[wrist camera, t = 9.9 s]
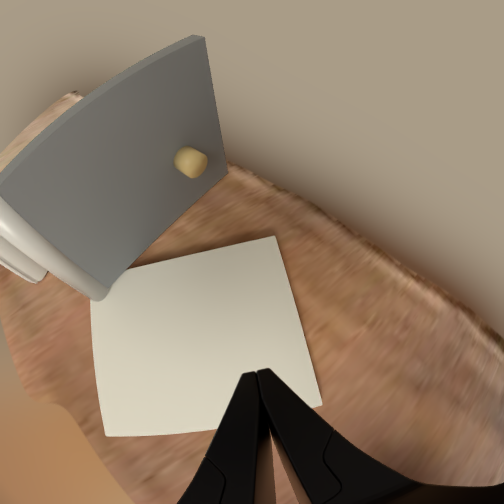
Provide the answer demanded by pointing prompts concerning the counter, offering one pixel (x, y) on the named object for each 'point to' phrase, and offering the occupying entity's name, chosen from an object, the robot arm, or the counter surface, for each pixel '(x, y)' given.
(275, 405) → the robot arm
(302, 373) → the board
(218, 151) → the door
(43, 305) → the counter surface
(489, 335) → the counter surface
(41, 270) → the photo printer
